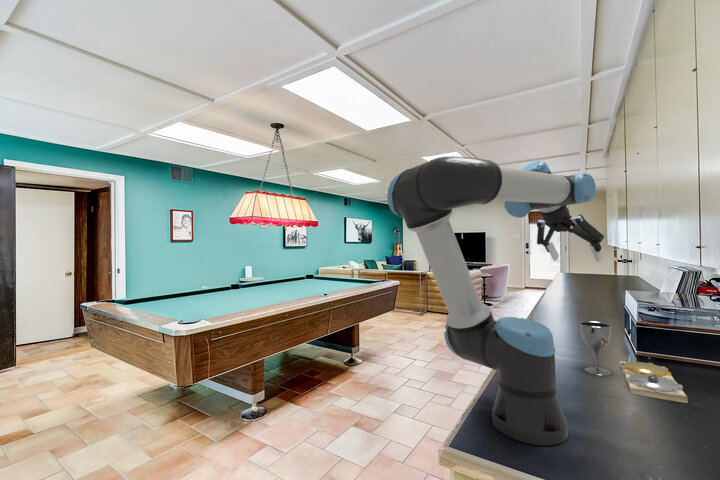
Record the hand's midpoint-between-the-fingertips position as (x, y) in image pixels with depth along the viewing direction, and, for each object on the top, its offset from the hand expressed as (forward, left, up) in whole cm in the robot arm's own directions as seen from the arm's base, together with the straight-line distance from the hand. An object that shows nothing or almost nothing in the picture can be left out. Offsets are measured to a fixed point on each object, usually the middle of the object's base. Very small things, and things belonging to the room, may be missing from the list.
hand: (576, 258), depth 108 cm
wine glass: (-2, -4, -36) cm, 36 cm away
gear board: (-5, -16, -36) cm, 40 cm away
